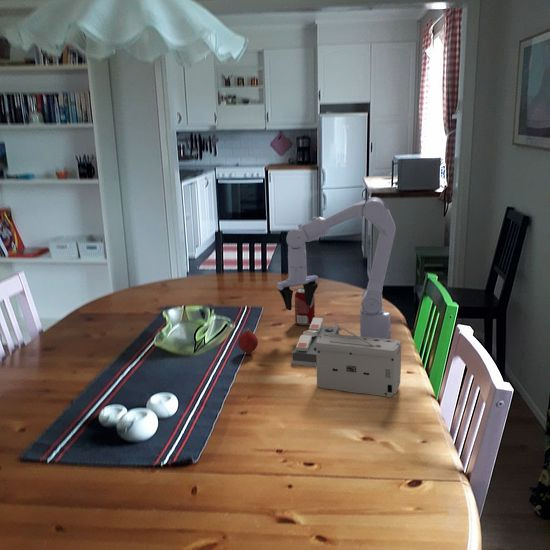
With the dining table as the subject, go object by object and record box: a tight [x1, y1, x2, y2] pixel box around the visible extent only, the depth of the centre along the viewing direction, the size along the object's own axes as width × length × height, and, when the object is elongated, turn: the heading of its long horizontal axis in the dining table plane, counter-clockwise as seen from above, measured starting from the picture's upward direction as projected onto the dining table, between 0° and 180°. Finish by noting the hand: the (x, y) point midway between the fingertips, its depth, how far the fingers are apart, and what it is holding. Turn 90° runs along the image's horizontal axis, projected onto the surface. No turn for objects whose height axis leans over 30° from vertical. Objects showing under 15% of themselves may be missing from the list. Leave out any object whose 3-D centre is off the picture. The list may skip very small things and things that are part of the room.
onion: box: [237, 328, 259, 355], centre depth 166 cm, size 6×6×8 cm
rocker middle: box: [302, 329, 318, 337], centre depth 170 cm, size 3×6×1 cm, turn 163°
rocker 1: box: [295, 334, 312, 351], centre depth 162 cm, size 3×6×1 cm, turn 163°
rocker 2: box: [308, 317, 324, 332], centre depth 177 cm, size 3×6×1 cm, turn 163°
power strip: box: [290, 324, 341, 368], centre depth 170 cm, size 9×27×4 cm, turn 163°
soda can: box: [294, 287, 316, 327], centre depth 191 cm, size 7×7×12 cm
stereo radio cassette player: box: [316, 314, 402, 398], centre depth 141 cm, size 21×8×20 cm, turn 70°
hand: (298, 307), depth 179 cm, fingers open, 7 cm apart
